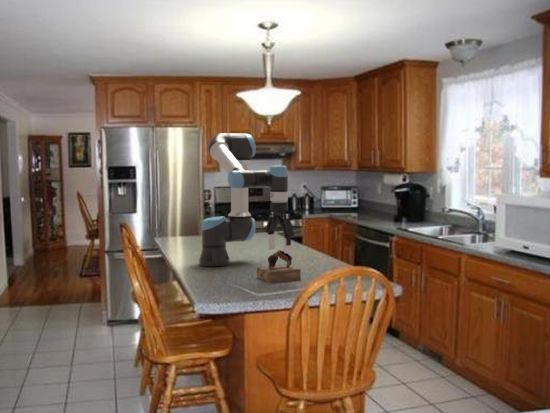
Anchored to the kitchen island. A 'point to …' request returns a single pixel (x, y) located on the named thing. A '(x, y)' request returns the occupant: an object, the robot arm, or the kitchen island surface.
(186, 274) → the kitchen island surface
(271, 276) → the walnut riser block
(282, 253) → the brown piece
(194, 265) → the kitchen island surface
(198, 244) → the kitchen island surface
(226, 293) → the kitchen island surface
